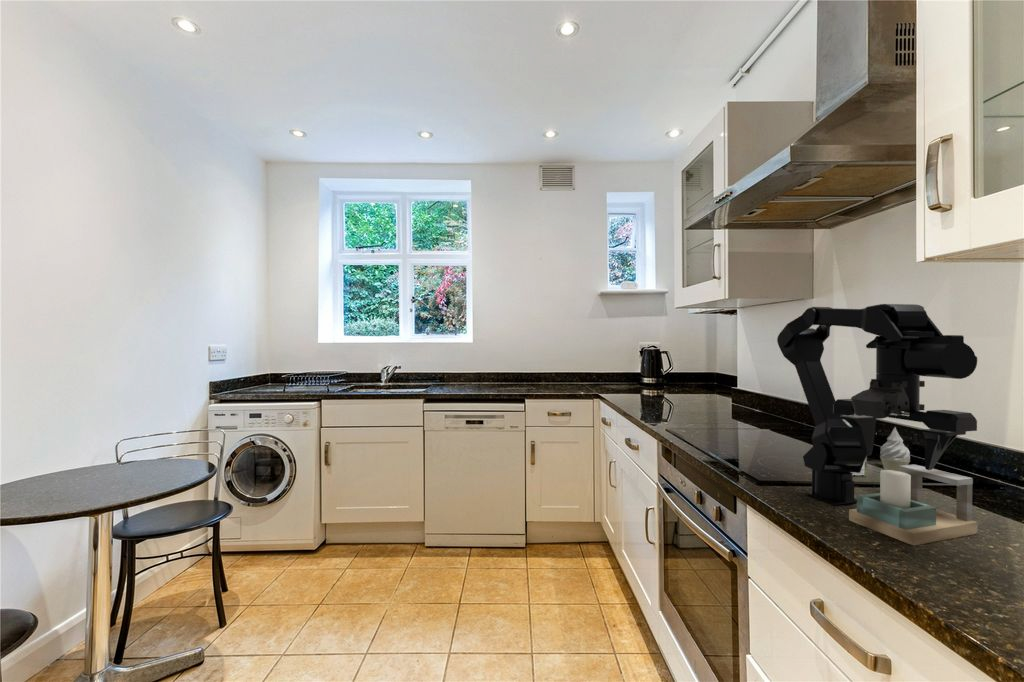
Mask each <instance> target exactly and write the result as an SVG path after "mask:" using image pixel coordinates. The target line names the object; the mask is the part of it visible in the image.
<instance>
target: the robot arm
mask: <svg viewBox="0 0 1024 682" xmlns="http://www.w3.org/2000/svg"><path fill="white" fill-rule="evenodd" d="M813 326H817V327H816V329H815V328H812V327H813ZM832 326H834V327H835V326H836V327H847V328H849V327H850V328H858V329H861V330H863V331H864V332H865V333H868V334H872V335H875V338H874V339H873V340H871V341H869V342H868V343H867V344H866V345H865V347H866V349H875V352H876V353H875V354H876V355H875V359H876V360H875V362H876V365H875V369H876V370H875V378H871V379H870V382H869V388H868V389H864V390H862V391H860V392H858V393H856V394H855V395H853V396H851V397H850V398H839V399H835V395H834V393H833V391H832V388H831V385H830V383H829V380H828V378H827V375H826V371H825V369H824V367H823V364H822V362H821V358H822V357H823V353H824V351H825V347H824V346H825V345H824V342H825V341H826V340H827V339H828V338H829V337H830V336H831V334H830V333H831V327H832ZM964 339H965V337H964V335H961V334H960V335H959V334H945V335H944V334H943V333H942V332H941V330H940V329H939V328H938V327H937V326H936V324H935V323H934V322H933V320H932V319H931V318H930V317H929V315H928V313H927V311H926V310H925V307H924V306H922V305H920V304H911V303H910V304H909V303H907V304H905V303H880V304H875V305H869V306H866V307H864V308H837V307H836V308H835V307H833V308H832V307H829V306H811V307H808V308H807V309H806V310H805V311H804V312H803V313H802V314H801V315H800V316H798V317H796V318H795V319H793V320H791V321H789V322H788V323H787V324H786V325H785V326H784V327H783V329H781V331H780V332H779V334H778V335H777V338H776V340H777V341H776V342H777V344H778V347H779V349H780V351H781V353H782V356H783V358H786V360H787V361H789V362H790V363H791V364H792V365H793V366H794V367H795V370H796V373H797V376H798V378H799V382H800V385H801V387H802V390H803V394H804V396H805V398H806V401H807V404H808V407H809V410H810V413H811V415H812V418H813V421H814V425H815V426H814V427H815V428H814V430H813V433H812V435H811V443H812V447H810V449H809V450H808V451H807V452H806V453H805V454H804V455H803V456H802V460H803V464H804V467H806V468H809V469H810V470H811V490H810V491H809V490H808V491H806V495H807V496H810V497H813V498H815V499H817V500H821V501H824V502H826V503H829V504H832V505H835V506H837V505H846V504H853V503H857V498H855V481H854V480H853V476H852V473H850V472H856V473H860V471H861V469H862V466H863V463H864V461H865V458H866V457H867V458H868V457H870V456H872V453H873V451H874V450H873V449H874V443H875V442H874V441H875V432H876V425H877V419H880V420H881V419H886V418H890V419H897V420H898V419H899V420H904V421H911V422H917V423H923V425H925V426H926V427H927V428H926V429H924V428H923V429H921V432H922V434H923V436H924V438H925V441H924V442H925V444H924V445H925V446H924V447H925V449H924V467H925V469H926V470H932V469H935V466H936V465H937V463H938V461H939V460H940V459H941V456H942V455H943V454H944V453H945V451H946V450H947V448H948V446H949V445H951V444H952V442H953V441H954V440H955V439H956V438H957V436H963V435H966V434H967V432H975V431H978V420H977V419H976V417H975V416H974V414H972V412H967V411H966V412H965V411H958V410H950V409H933V410H930V409H929V410H925V404H922V403H920V398H921V397H920V391H921V390H920V388H924V387H926V383H925V380H921V377H930V378H945V379H956V380H961V379H966V378H968V377H970V376H971V375H972V374H973V373H974V372H975V370H976V368H977V365H978V357H977V356H976V355H975V354H976V353H975V351H974V350H973V349H972V347H971V346H970V345H968V344H967V343H965V340H964ZM843 419H844V420H846V421H847V422H848V423H849V424H850V425H851V426H852V427H849V426H848V425H847V424H846V423H845V422H844V421H843Z"/></svg>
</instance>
